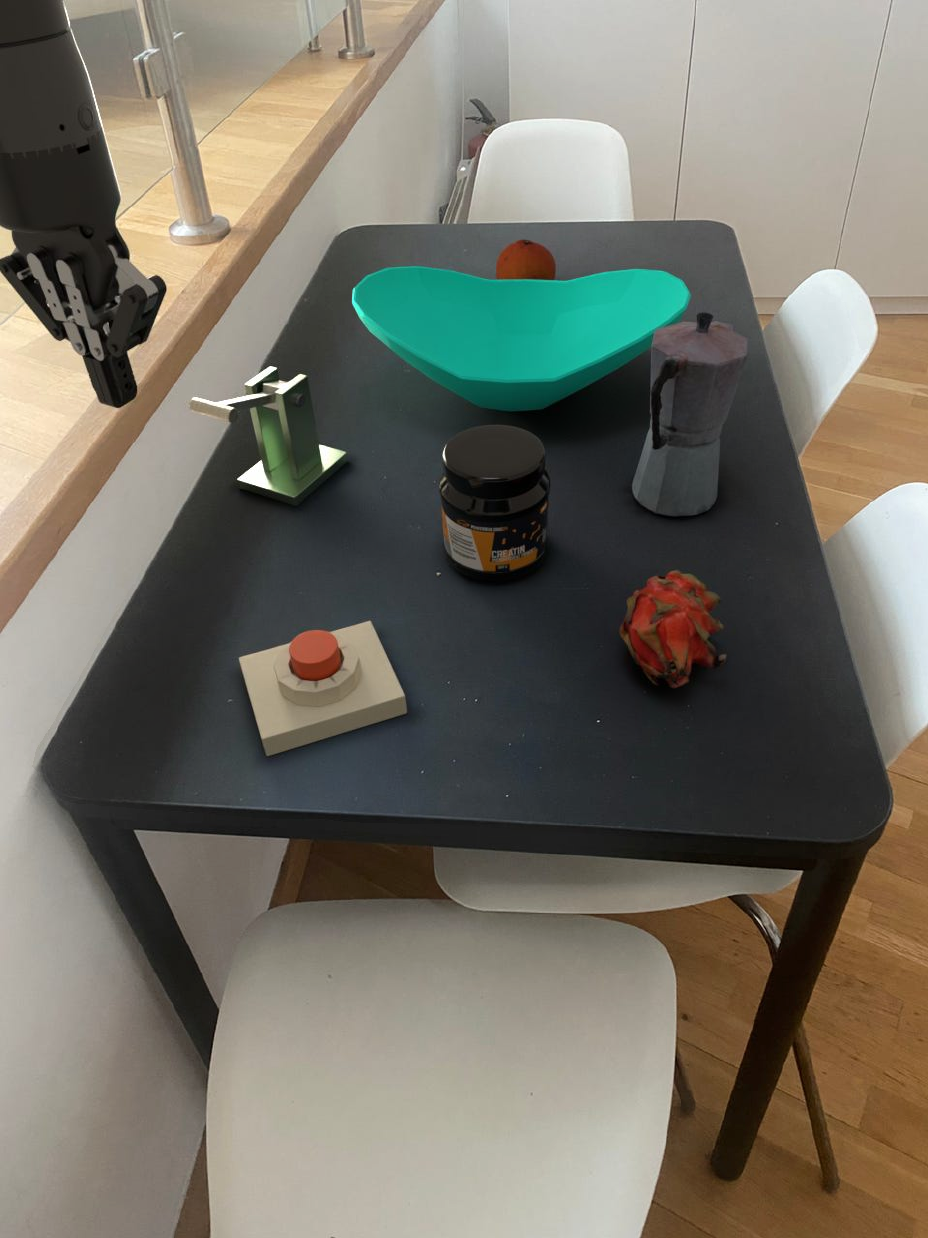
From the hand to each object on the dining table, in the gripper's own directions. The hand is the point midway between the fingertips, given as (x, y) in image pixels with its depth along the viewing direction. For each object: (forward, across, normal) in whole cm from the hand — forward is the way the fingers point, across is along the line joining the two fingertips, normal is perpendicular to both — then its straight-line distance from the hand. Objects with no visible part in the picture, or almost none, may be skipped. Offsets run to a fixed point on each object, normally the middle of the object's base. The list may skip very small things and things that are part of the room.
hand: (119, 400), depth 64 cm
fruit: (+27, -10, +84) cm, 88 cm away
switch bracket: (+27, -12, +29) cm, 41 cm away
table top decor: (+27, +3, +56) cm, 62 cm away
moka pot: (+27, +28, +43) cm, 58 cm away
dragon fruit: (+27, +36, +20) cm, 49 cm away
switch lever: (+16, -12, +24) cm, 31 cm away
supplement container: (+27, +15, +26) cm, 41 cm away
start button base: (+27, +11, +2) cm, 29 cm away
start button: (+23, +11, +2) cm, 26 cm away
